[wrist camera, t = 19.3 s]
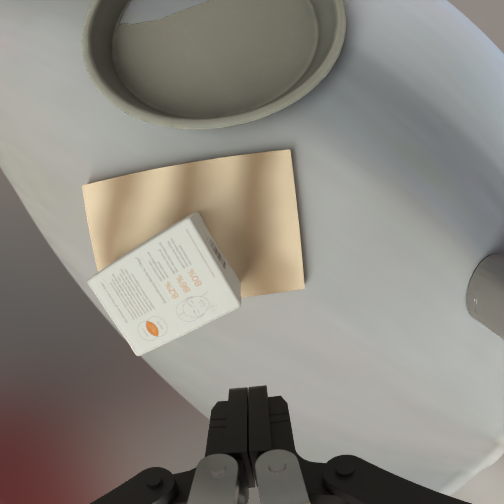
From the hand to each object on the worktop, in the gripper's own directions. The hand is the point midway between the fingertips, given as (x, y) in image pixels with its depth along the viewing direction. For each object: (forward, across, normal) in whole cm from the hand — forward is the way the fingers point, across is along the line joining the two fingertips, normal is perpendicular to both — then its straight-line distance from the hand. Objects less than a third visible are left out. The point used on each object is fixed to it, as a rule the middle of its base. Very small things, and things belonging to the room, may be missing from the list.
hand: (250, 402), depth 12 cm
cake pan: (+19, +1, -26) cm, 32 cm away
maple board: (+18, +5, -4) cm, 20 cm away
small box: (+15, +2, -3) cm, 15 cm away
